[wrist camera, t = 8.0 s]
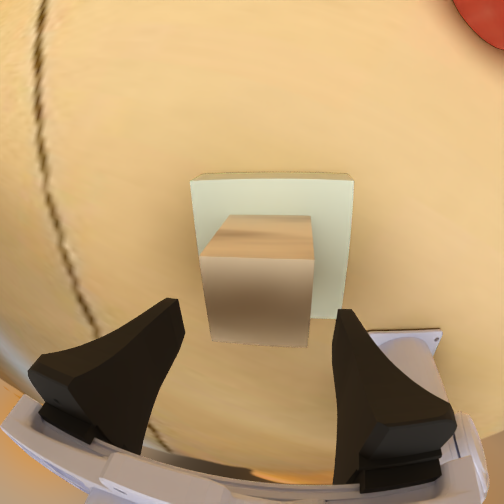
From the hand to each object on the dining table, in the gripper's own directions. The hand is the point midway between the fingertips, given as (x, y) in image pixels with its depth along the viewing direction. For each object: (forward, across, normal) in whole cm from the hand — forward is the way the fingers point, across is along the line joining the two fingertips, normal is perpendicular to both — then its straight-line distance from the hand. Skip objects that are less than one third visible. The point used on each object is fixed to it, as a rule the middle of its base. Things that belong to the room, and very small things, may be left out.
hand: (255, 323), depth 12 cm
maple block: (+7, 0, 0) cm, 7 cm away
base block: (+10, 0, 0) cm, 10 cm away
